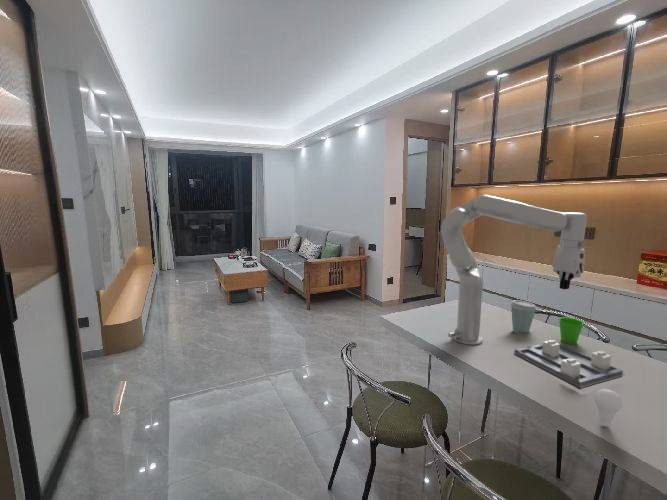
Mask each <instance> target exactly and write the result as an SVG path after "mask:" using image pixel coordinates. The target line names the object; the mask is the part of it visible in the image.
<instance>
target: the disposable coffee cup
mask: <svg viewBox="0 0 667 500" xmlns="http://www.w3.org/2000/svg"><path fill="white" fill-rule="evenodd" d="M510 307H511V323H512V331H513V333H515V334H516V335H517V334H524V333H525V334H526V333H529V332H530V329H531V326H532V323H533V320H534V316H535V314H536V310H537V306H536V305H535V304H534V303H532V302H529V301H524V300H512V302H511V303H510Z"/></svg>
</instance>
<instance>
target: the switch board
mask: <svg viewBox="0 0 667 500" xmlns="http://www.w3.org/2000/svg"><path fill="white" fill-rule="evenodd" d="M557 343H558V344H560V349H559V356H555V357H552V356H550V355H548V354H546V353H544V352H542V349H543V343H539V344H534V345H529V346H524V347H521V348H516V349H514V354H513V355H514V356H515V357H516V358H519V359H521V360H522V361H524V362H527V363H529V364H531V365H532V366H534V367H536V368H538V369H540V370H541V371H544V372H546V373H548V374H549V375H551V376H553V377H555V378H557V379H559V380H561V381H563V382H565V383H567V384H569V385H570V386H573V388H574V387H575V388H576V389H578V390H582V389H586V388H589V387H592V386H595V385H601V384H602V383H606V382H610V381H612V380H617V379H620V378H622V377H623V375H622V374H623V372H624V371H623V370H622V369H620V368H618V367H615V366H613V365H611V364H610V367H609V368H608V369H601V368H599V367H597V366H595V365H592V364H591V357H592V356H589V355H587V354H585V353H582V352H580V351H577V350H575V349H573V348H570V347H568V346H565V345H564V344H562V343H560V342H557ZM569 358H570V359H572V358H573V359H575V360H576V362H579V363H581V367H580V375H579V376H578V377H575V378H572V377H570V376H568V375H566V374H564V373H562V372H560V370H561V361H562V360H565V359H569ZM618 375H620V376H618ZM613 376H617V377H613ZM611 377H613V378H611ZM607 378H609V379H607ZM603 379H606V380H603ZM601 380H603V381H601ZM596 381H597V382H596ZM598 381H599V382H598ZM594 382H595V383H594ZM589 383H592V384H589ZM586 384H589V385H586ZM582 385H586V386H582Z"/></svg>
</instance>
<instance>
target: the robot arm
mask: <svg viewBox="0 0 667 500" xmlns="http://www.w3.org/2000/svg"><path fill="white" fill-rule="evenodd" d="M482 216H486V217H490V218H494V219H498V220H503V221H505V222H506V221H507V222H509V223H515V224H520V225H525V226H529V227H532V228H539V229H543V230H545V231H551V232H560V231H561V232H560V238H559V239H560V240H559V245H557V248H556V250H555V254H554V256H553V263H552V267H553V269H552V271H553V272H554V273H557V276H558V278H559V279H560V280H559V289H560V290H569V289H570V286H571V280H573V279H574V278H581V277H582V274H583V273H584V271H585V264H586V252H585V249H584V248H583V247H586V243H585V242H584V241H585V240H584V239H585V232H586V226H587V221H588V215H587V214H586V213H584V212H561V211H556V210H550V209H547V208H542V207H537V206H534V205H529V204H526V203H523V202H520V201H517V200H512V199H506V198H502V197H498V196H493V195H489V194H480V195H478V196H475V197H473V198H472V199H471V200H468V201H466V202H464V203H462V204H460V205H458V206H456V207H454V208H453V209H451V210H450V212H448V214H447V215H446V216H445V218H444V219H443V221H442V224H441V227H440V228H441V229H440V231H441V233H440V234H441V237H442V241H443V243H444V246H445V248H446V252H447V253H448V256H449V258H450V262H451V264H452V266H453V267H454V268H455V270H456V273H457V275H458V279H459V284H458V290H459V291H458V304H457V307H458V308H457V321H456V322H457V323H456V328H455V329H454V331H452V332H448V333H447V336H448V337H449V338H452V339H453V340H455V341H456V342H458V343H461V344H464V345H469V346H470V345H471V346H476V345H480V344H482V343H483V341H484V340H483V339H484V337H482V336H481V335H480V331H481V329H480V328H481V317H482V316H481V315H482V301H483V292H484V279H483V276H482V273H481V271H480V268H479V266H478V263H477V261H476V258H475V257H474V254H473V252H472V249H470V248H469V247H468V245H467V243H466V239H465V237H464V233H463V228H464V227H465V225H467V224H468V222H472V221H474V220H476V219H477V218H479V217H482Z"/></svg>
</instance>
